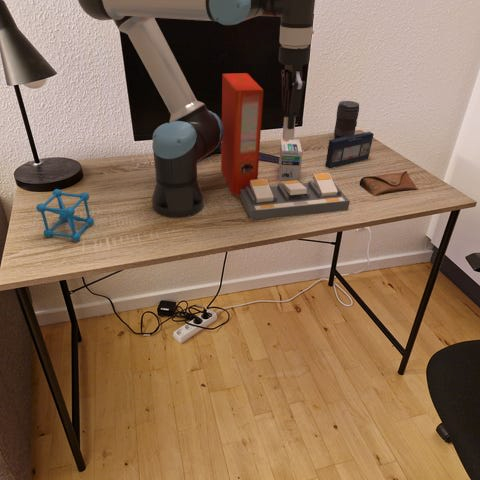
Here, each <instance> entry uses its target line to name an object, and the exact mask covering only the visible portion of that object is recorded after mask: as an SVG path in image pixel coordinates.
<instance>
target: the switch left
mask: <svg viewBox="0 0 480 480" xmlns="http://www.w3.org/2000/svg"><path fill="white" fill-rule="evenodd" d="M269 185H270V184H269V181H268V179H267V178H262V179H260V178H259V179H257V180H250V186H251V189H252V192H253V195H254V197H255V200H256V203H259V202H269V201H273V198H274V196H273V194H272V191H271V189H270V186H271V185H270V186H269Z"/></svg>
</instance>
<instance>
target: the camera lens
mask: <svg viewBox="0 0 480 480" xmlns="http://www.w3.org/2000/svg"><path fill="white" fill-rule="evenodd" d="M336 109H337V110H336V119H335V125H334V126H335V127H334V130H333V137H334V139H338V138H342V137H346V136H351V135H356V134H355V133H356V127H357V125H358V121H357V120H358V117H359V114H360V113H359V112H360V103H359V102H357V101H354V100H353V101H352V100H342V101H339V102H338V105H337V108H336Z"/></svg>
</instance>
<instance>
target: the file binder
mask: <svg viewBox="0 0 480 480" xmlns="http://www.w3.org/2000/svg"><path fill="white" fill-rule="evenodd" d="M221 77H222V78H221V79H222V81H221V82H222V83H221V85H222V86H221V88H222V89H221V90H222V91H221V122H222V125H223V129H224V135H223V139H222V141H221V143H220V144H221V147H220V151H221V153H220V155H221V157H220V161H221V163H220V166H221V167H220V171H221V173H222V175H223V177H224V180H225V182H226V184H227V186H228V188H229V191H230V192H231V194H232V195H234V196H240V189H246V187H249V188H251V186H250V180H258V178H259V176H258V175H259V161H260V148H261V147H260V145H261V130H262V117H263V116H262V115H263V105H264V104H263V103H264V92H265V91H264V89H263V88H262V87H261V86H260V85H259V84H258V82H256V81H255V80H254V78H252V76H251V75H250V74H249V73H248V72H247V73H246V72H244V73H242V72H241V73H239V72H238V73H233V72H232V73H222V76H221Z"/></svg>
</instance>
